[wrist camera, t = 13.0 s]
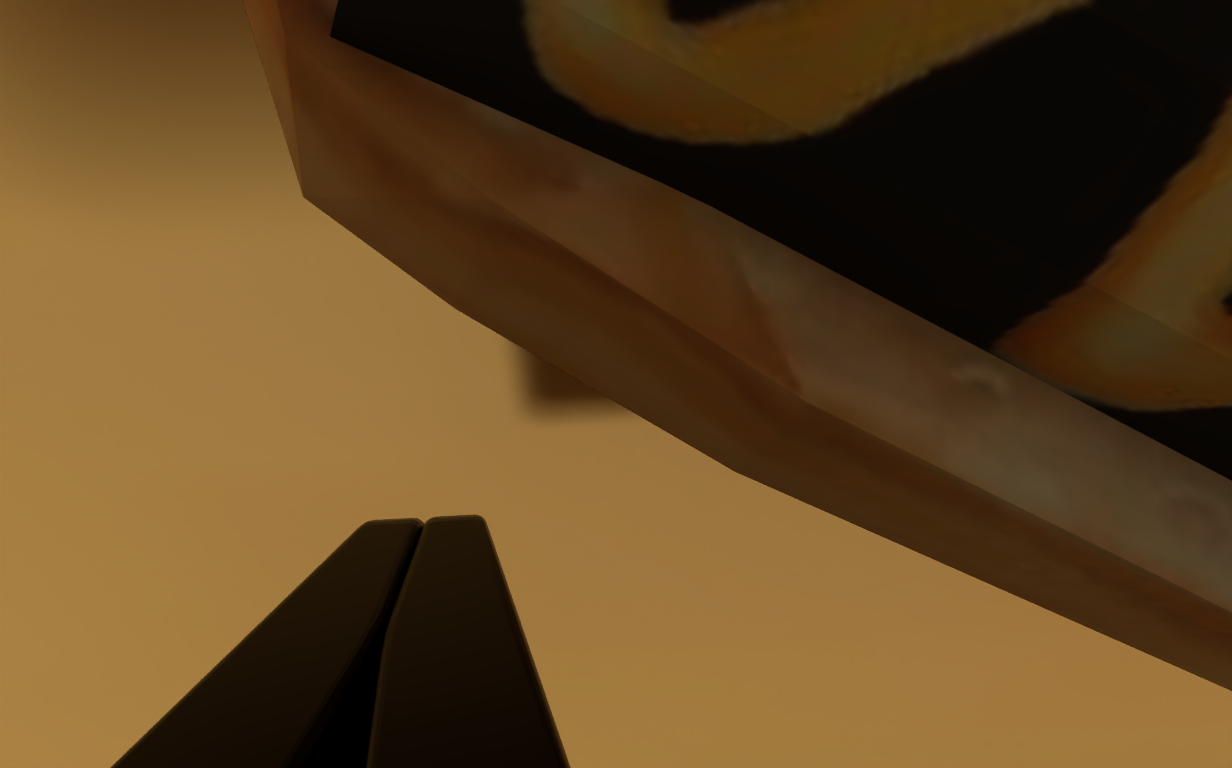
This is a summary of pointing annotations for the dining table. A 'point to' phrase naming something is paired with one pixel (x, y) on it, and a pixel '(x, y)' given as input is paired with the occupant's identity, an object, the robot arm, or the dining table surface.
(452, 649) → the robot arm
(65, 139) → the dining table surface
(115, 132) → the dining table surface
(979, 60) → the hot dog
